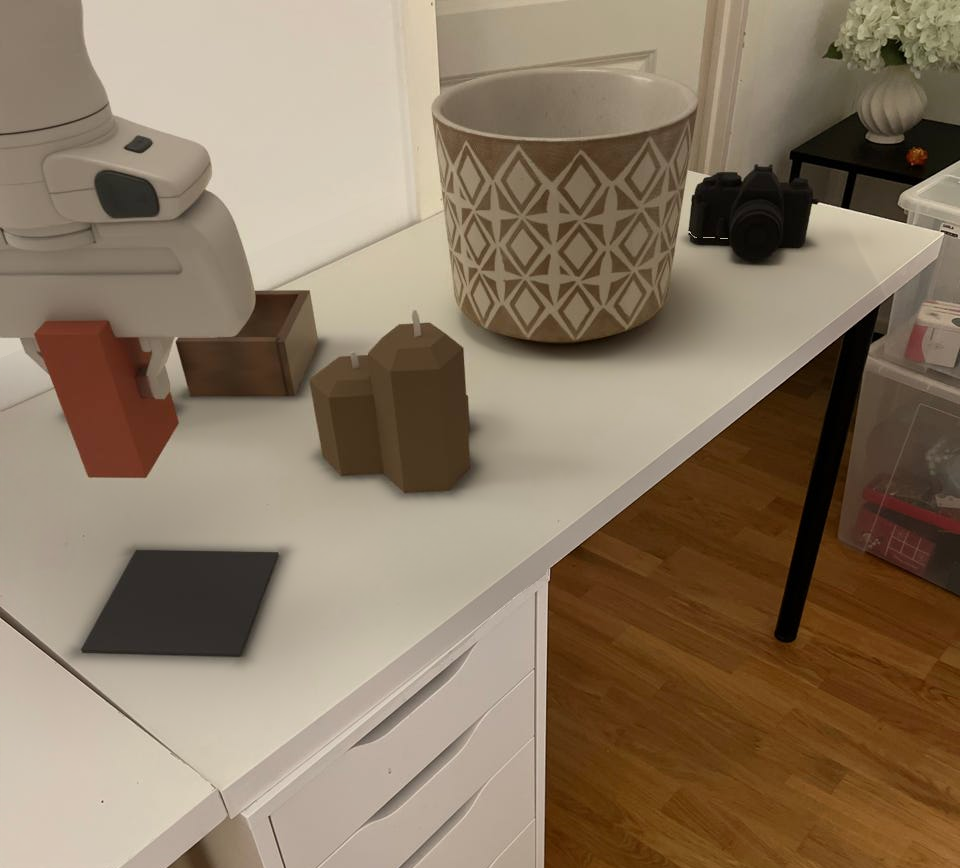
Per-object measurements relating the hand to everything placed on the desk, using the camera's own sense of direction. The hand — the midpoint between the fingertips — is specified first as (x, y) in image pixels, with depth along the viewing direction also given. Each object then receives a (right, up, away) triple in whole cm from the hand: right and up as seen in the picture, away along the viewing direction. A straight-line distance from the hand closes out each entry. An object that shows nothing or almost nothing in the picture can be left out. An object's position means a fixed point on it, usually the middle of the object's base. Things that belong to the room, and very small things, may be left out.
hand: (117, 395), depth 63 cm
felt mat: (+1, -13, +12) cm, 18 cm away
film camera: (+57, +33, +58) cm, 88 cm away
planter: (+33, +21, +47) cm, 61 cm away
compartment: (-1, +13, +40) cm, 42 cm away
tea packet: (0, -3, +3) cm, 4 cm away
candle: (+17, +1, +26) cm, 31 cm away
